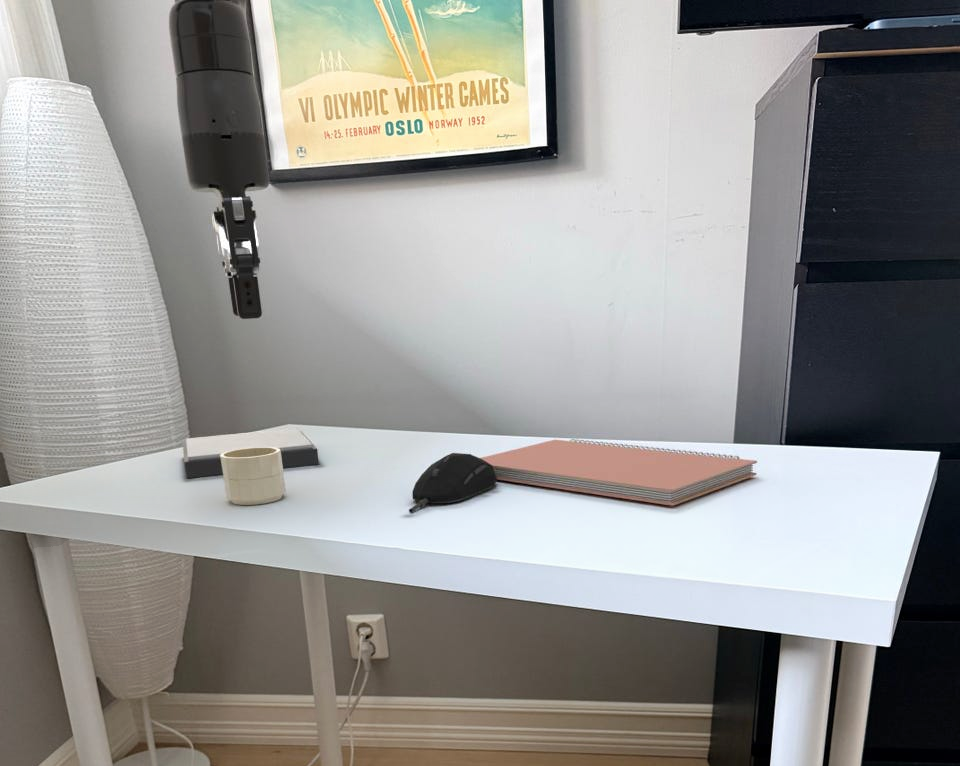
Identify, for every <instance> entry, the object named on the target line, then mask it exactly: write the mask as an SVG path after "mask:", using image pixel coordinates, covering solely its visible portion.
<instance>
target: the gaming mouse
mask: <svg viewBox="0 0 960 766" xmlns="http://www.w3.org/2000/svg"><path fill="white" fill-rule="evenodd" d="M481 458H482V457H478V456H476V455H473V454H471V453H460V452H451V453H449V454H447V455H445V456H443V457H442V458H440V459H438V460H437V461H435V462H433V463H432V464H431V465H429V466H428V467H427V468H426V469H425V471H424V472H423V473H422V474H421V475H420V477H418V479H417V480H416V482H415V483H414V487H413V489H412V493H411V494H412V500H414V501H417V503H416V504H415V505H414V506H412V507H410V508H409V509H408V512H409V513H411V514H412V513H413V512H414V511H416V510H418V509H420V508H423V507H425V506H427V505H428V504H451V503H452V504H453V503H457V502H460V501H463V500H466V499H468V498H471V497H473V496H475V495H478V494H481V493H483V492H486V491H488V490H490V489H492V488H493V487H494V486H495V484H496V483H497V482H498V479H497V476H496V474H495V471H494V468H493V466H492V465H491V464H489V463H488V462H486V461H484V460H483V459H481Z"/></svg>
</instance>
